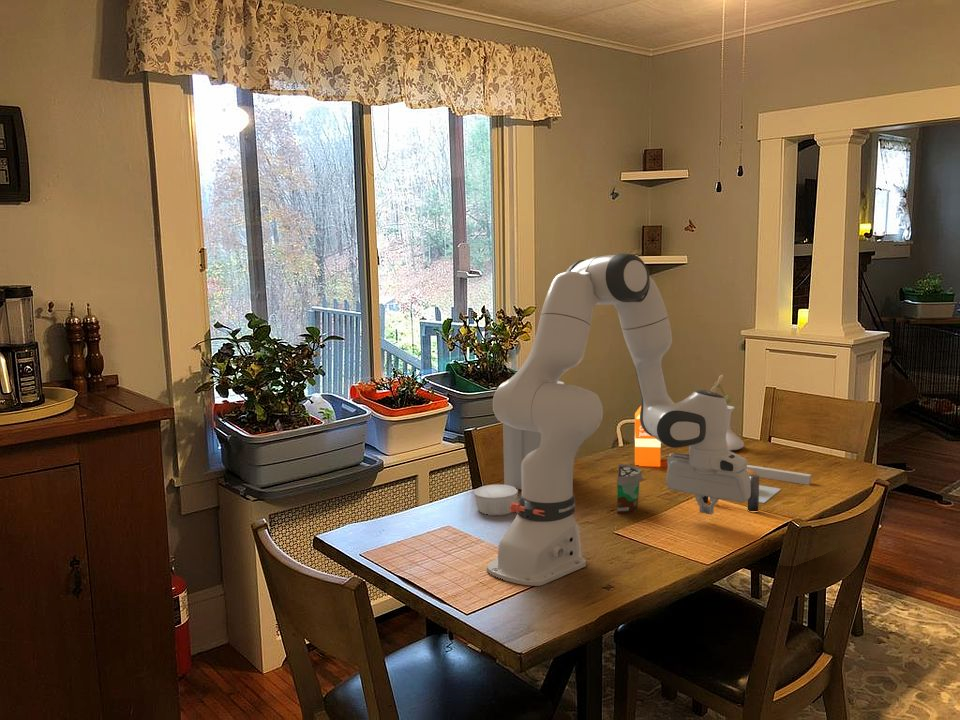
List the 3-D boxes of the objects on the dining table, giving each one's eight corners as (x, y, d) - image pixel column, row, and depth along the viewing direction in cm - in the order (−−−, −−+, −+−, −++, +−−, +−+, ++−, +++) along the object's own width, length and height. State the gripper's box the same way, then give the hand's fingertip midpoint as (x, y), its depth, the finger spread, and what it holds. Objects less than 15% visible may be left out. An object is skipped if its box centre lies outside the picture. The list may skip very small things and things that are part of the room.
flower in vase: (720, 442, 270) (722, 368, 267) (751, 448, 262) (753, 372, 258) (697, 449, 262) (698, 373, 258) (728, 456, 253) (730, 377, 250)
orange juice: (634, 465, 246) (634, 401, 243) (634, 458, 254) (634, 395, 251) (661, 466, 244) (661, 401, 241) (659, 458, 253) (660, 395, 250)
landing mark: (763, 503, 209) (764, 502, 209) (711, 494, 217) (711, 493, 217) (781, 489, 220) (781, 488, 220) (730, 481, 228) (730, 480, 228)
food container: (642, 516, 201) (642, 478, 200) (617, 515, 203) (617, 477, 201) (642, 501, 213) (642, 464, 212) (618, 500, 215) (618, 463, 213)
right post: (756, 513, 202) (757, 478, 201) (746, 511, 204) (746, 476, 202) (759, 510, 204) (760, 475, 203) (749, 508, 206) (750, 474, 204)
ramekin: (465, 510, 209) (465, 491, 209) (495, 500, 217) (495, 481, 216) (497, 520, 202) (496, 500, 201) (526, 509, 209) (526, 489, 209)
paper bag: (536, 497, 218) (534, 395, 214) (503, 484, 230) (501, 388, 226) (588, 484, 229) (588, 386, 225) (554, 472, 241) (553, 379, 237)
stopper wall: (808, 485, 223) (809, 476, 223) (723, 471, 238) (724, 463, 237) (810, 483, 225) (811, 474, 224) (726, 469, 239) (726, 461, 239)
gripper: (662, 453, 198) (661, 508, 200) (744, 467, 185) (742, 524, 187) (673, 448, 203) (672, 501, 205) (754, 461, 190) (752, 517, 192)
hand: (706, 513), depth 196 cm, fingers closed
